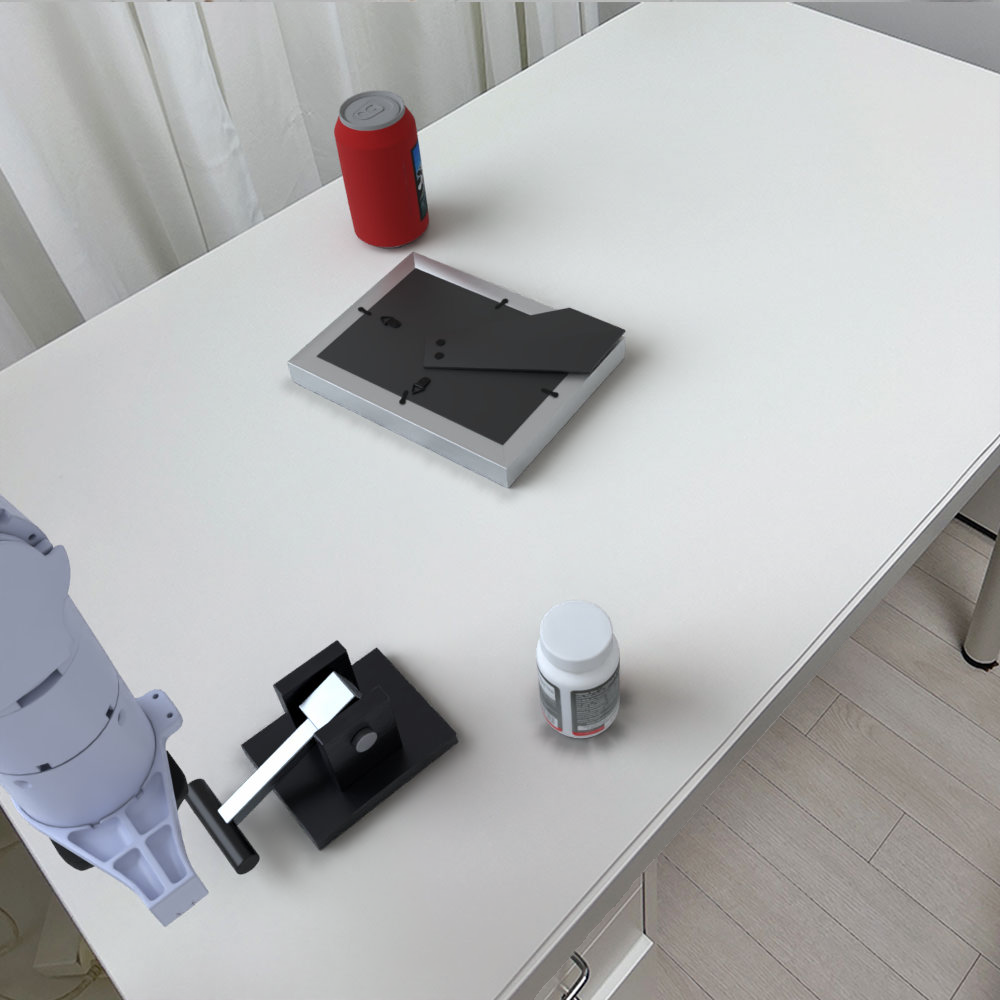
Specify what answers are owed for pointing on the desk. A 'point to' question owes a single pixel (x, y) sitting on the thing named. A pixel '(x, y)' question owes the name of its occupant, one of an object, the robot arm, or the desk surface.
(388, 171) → the beverage can
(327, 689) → the tap lever
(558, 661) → the pill bottle
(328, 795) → the bracket
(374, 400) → the picture frame
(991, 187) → the desk surface
